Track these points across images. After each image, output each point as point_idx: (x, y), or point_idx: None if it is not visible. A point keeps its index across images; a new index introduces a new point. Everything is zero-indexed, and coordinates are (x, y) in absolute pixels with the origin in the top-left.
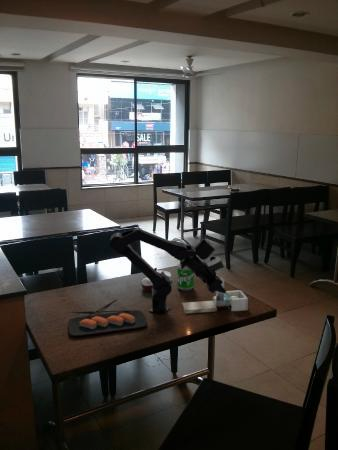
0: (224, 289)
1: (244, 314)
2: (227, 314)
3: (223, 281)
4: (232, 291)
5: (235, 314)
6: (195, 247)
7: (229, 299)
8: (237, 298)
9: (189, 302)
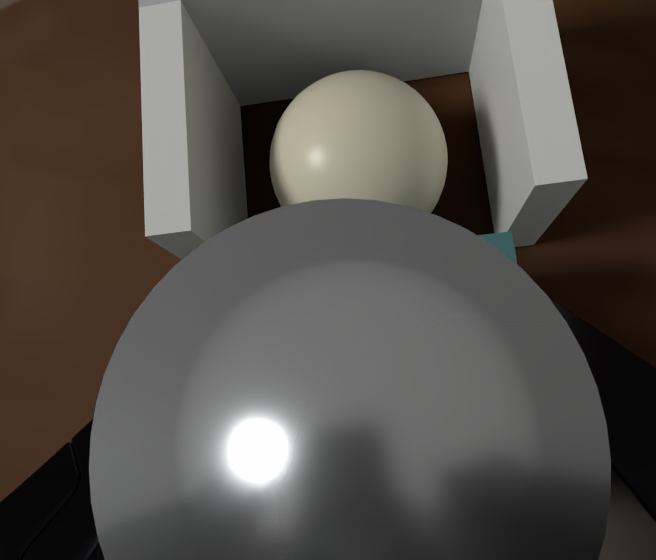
0: (555, 305)
1: (637, 94)
2: (646, 332)
3: (510, 283)
4: (174, 122)
5: (641, 215)
6: None
7: (507, 234)
8: (520, 76)
9: None
